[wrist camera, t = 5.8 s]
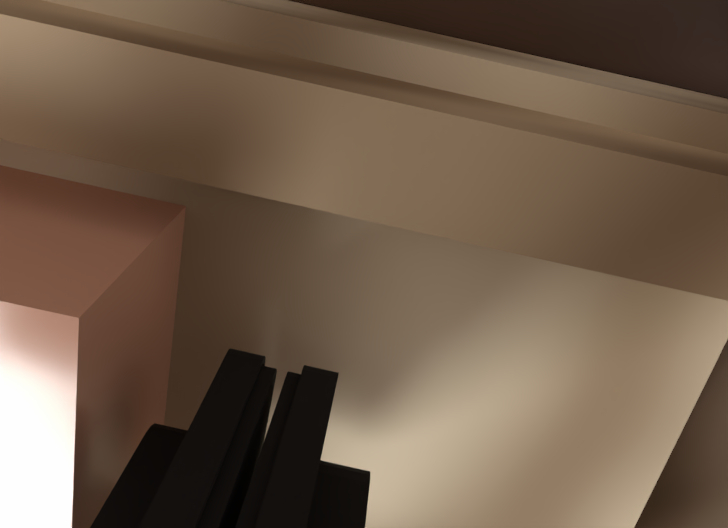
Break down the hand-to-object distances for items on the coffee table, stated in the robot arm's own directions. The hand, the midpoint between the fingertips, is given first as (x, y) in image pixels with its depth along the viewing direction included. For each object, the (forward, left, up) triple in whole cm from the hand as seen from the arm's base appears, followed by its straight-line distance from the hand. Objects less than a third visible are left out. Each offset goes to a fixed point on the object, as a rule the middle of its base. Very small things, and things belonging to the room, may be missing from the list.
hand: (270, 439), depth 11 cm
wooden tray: (+1, 0, -3) cm, 3 cm away
